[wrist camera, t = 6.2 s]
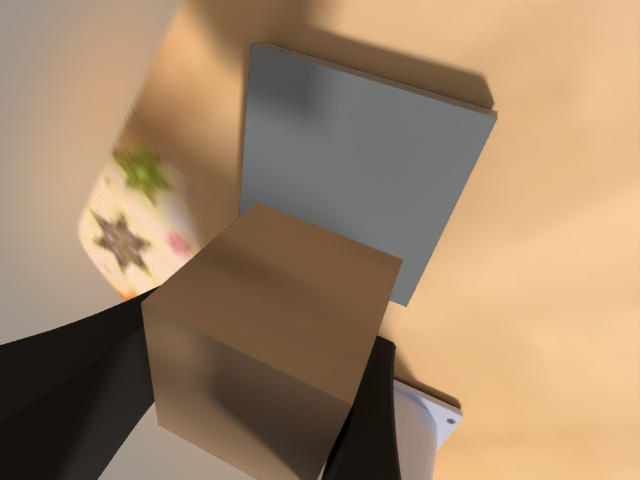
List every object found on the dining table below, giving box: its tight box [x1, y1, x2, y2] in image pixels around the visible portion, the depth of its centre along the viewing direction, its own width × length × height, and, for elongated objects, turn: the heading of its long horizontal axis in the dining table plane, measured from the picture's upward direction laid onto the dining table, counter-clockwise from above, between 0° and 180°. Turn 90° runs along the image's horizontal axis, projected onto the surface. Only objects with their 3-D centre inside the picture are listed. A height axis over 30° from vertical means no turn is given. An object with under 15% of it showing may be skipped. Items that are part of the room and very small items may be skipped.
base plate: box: [239, 42, 497, 307], centre depth 18 cm, size 10×10×1 cm
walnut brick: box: [141, 202, 403, 480], centre depth 10 cm, size 5×4×5 cm
